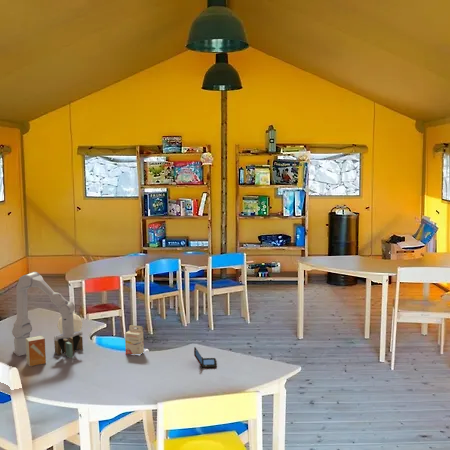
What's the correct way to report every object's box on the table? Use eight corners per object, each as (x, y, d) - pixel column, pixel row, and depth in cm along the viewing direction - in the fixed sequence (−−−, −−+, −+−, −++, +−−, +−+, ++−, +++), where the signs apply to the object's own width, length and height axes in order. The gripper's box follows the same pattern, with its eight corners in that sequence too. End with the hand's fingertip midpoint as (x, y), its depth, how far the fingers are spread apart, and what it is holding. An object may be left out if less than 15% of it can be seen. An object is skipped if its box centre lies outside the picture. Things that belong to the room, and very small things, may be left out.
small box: (29, 366, 281) (28, 341, 279) (26, 363, 286) (25, 338, 284) (46, 363, 285) (45, 338, 284) (42, 359, 290) (41, 335, 289)
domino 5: (80, 350, 304) (79, 337, 304) (76, 347, 308) (75, 335, 308) (82, 349, 305) (82, 336, 305) (79, 347, 309) (78, 334, 308)
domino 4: (69, 357, 293) (69, 344, 292) (66, 355, 297) (65, 342, 296) (72, 357, 294) (72, 344, 293) (69, 354, 298) (68, 341, 297)
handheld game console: (216, 368, 275) (216, 354, 274) (194, 369, 274) (193, 354, 273) (215, 359, 287) (215, 345, 286) (194, 360, 287) (194, 346, 286)
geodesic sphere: (76, 319, 342) (64, 304, 334) (92, 323, 334) (80, 307, 325) (61, 339, 333) (48, 324, 325) (77, 343, 325) (64, 328, 317)
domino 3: (73, 351, 302) (72, 339, 301) (69, 349, 306) (68, 336, 305) (75, 351, 303) (75, 338, 302) (72, 348, 307) (71, 336, 306)
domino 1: (58, 355, 297) (57, 342, 296) (54, 352, 301) (54, 339, 300) (61, 354, 298) (60, 341, 297) (57, 351, 302) (57, 339, 301)
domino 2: (65, 353, 300) (65, 340, 299) (62, 350, 303) (61, 338, 303) (68, 352, 300) (68, 339, 300) (65, 350, 304) (64, 337, 304)
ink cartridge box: (125, 354, 296) (124, 327, 294) (129, 351, 301) (128, 324, 299) (139, 356, 293) (138, 328, 292) (144, 353, 298) (143, 326, 296)
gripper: (57, 330, 286) (58, 356, 287) (84, 325, 294) (85, 350, 296) (52, 327, 291) (53, 352, 293) (78, 322, 300) (80, 346, 302)
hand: (69, 351), depth 295 cm, fingers open, 6 cm apart
